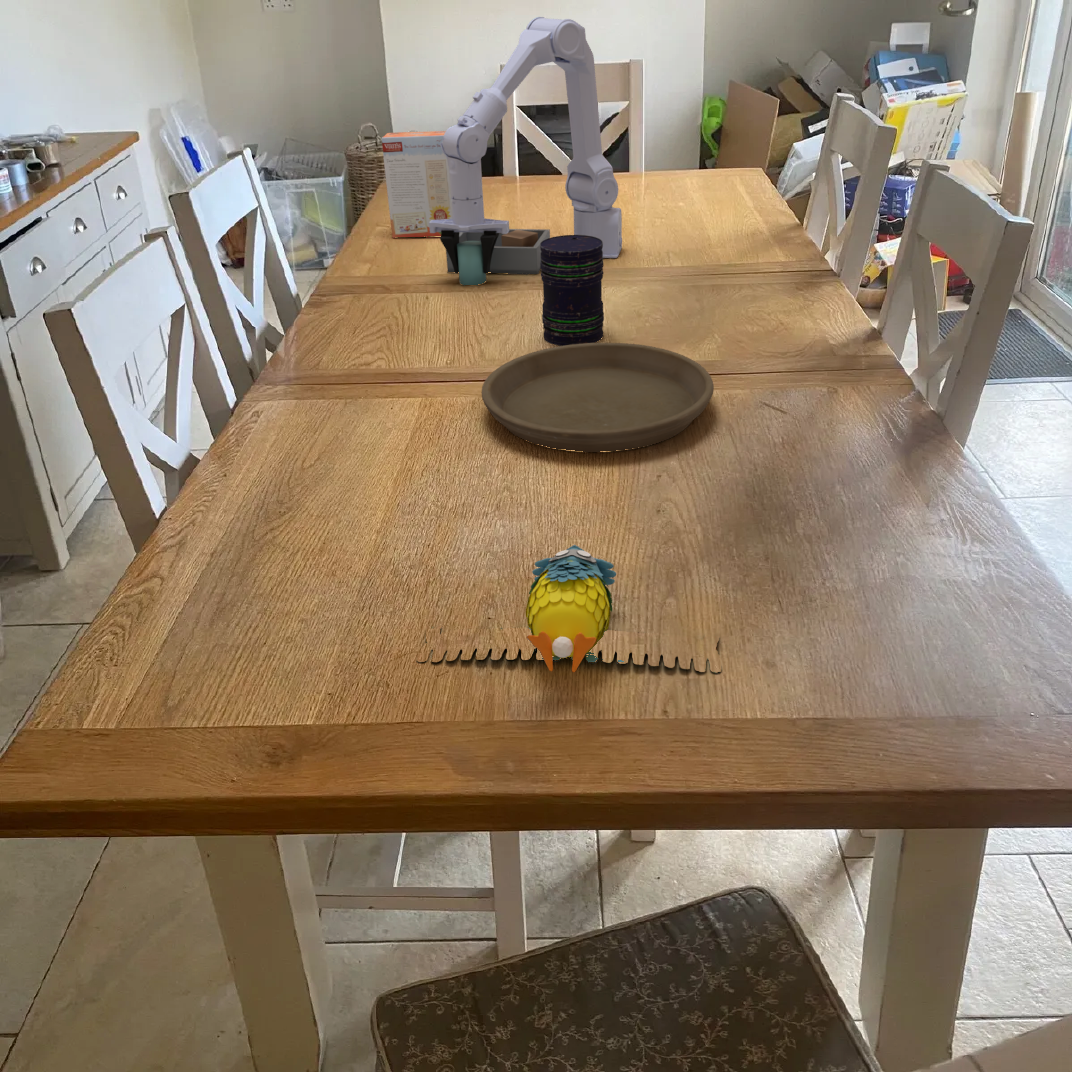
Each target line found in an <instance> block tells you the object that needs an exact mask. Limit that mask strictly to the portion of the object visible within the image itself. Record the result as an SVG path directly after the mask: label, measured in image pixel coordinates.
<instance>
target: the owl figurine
mask: <svg viewBox="0 0 1072 1072" xmlns="http://www.w3.org/2000/svg"><path fill="white" fill-rule="evenodd" d="M534 566H535V567H536V568H534V569H533V570H532V571H531V573H532V574H533V575H534V576H535V577H534V578H533V579H534V581H533V582H532V584H531V586H530V590H529V592H528V595H529V596H528V598H527V602H526V608H525V617H526V618H527V619H526V621H527V627H529V629H530V630H531V633H532V635H528V636H527V639H528V640H529V641H530V642H531V643H532V644H533V646H534V647H536V648H537V649H538V650H539V651H540V653H541V655H542V657H543V658H542V659H544V662H545V664H546V666H547V668H548V671H549V672H553V670H554V665H553V664H554V661H553V660H559V659H560V658H562V659H564V658H566V659H568V658H567V657H569V658H570V657H571V658H570V660H571V659H572V660H573V661H572V660H571V661H572V667H571V671H572V673H575V672H576V671H577V670H578V667H579V666H580V664H581V663H582V661H583V659H584V658H585V661H586V660H587V661H588V662H587V661H586V662H587V663H589V662H595V661H596V660H597V659H598V660H599V658H597V657H596V656H594V655H590V654H594V653H591V652H589V651H590V650H591V649H592V648H593V647H594V646H595V645H596V644H597V642H598V641H599V640H600V639H601V638H602V637H603V635H604V632H605V631H607V629H609V626H610V619H611V613H612V612H613V605H612V603H613V598H612V593H611V591H610V589H609V588H608V587H609V586H611V585H612V584H614V583H615V582H616V580H615V579H614V578H615V577H616V575H617V572H616V571H614V570H612V569H613V568H614V567H615V566H614V564H613V563H612V562H610V561H607V560H604V559H601V558H595V557H594V556H592V555H591V553H590V552H588V551H585V550H584V549H582V548H581V547H580V546H578V545H576V544H573V545H571V546H569V547H568V548H567V549H565V550H561V551H558V552H557V553H555V556H552V557H547V558H543V559H540V560H538V561H536V562H535V563H534ZM586 654H589V655H586ZM552 656H554V657H552ZM586 656H588V657H586ZM595 657H596V658H595ZM602 660H603V659H602ZM559 661H560V660H559ZM618 662H624V661H622V660H618ZM595 663H596V662H595Z"/></svg>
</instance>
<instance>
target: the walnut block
mask: <svg viewBox="0 0 1072 1072" xmlns="http://www.w3.org/2000/svg"><path fill="white" fill-rule="evenodd" d="M501 239H502V247H534V245H535V244H536V242H537V241H538V233H536V232H529V231H523V230H515V231H512V232H510V233H507V234H504V235H501Z"/></svg>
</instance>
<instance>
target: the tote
mask: <svg viewBox="0 0 1072 1072" xmlns="http://www.w3.org/2000/svg"><path fill="white" fill-rule="evenodd" d="M515 230H523V231H529V232H536V233H538V241H537V242H536V244H535V245H534V247H502V239H501V235H504V234H502V233H499V236H498V238H497V241H496V244H495V246H494V250H493V253H492V258H491V264H490V271H489V272H491V273H508V274H507V275H528V274H538V275H539V273H540V272H541V270H540V269H541V268H540V260H541V250H540V243H541V242H542V241H543V240H545V239H548V238H551V230H550V229H549V228H547V229H544V228H542V229H538V228H536V229H533V228H509V232H508V233H510V232H512V231H515ZM483 234H484V233H474V232H459V243H460V242H464V241H481V240H480V237H481V236H482V235H483ZM445 255H446V256H445V257H446V267H447V273H448V272H454V268H453V265H452V262H451V259H450V257H449V254H448V252H447V250H446V249H445ZM539 271H540V272H539Z"/></svg>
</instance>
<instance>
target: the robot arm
mask: <svg viewBox="0 0 1072 1072" xmlns="http://www.w3.org/2000/svg"><path fill="white" fill-rule="evenodd" d="M586 38H587V37H586V28H585V27H583V25H581V24H579V23H578V22H577V21H576V20H574V19H572V18H564V19H562V18H551V17H550V18H547V17H543V16H537V17H534V18H532V19H531V20H530V21H529V22H528V23H527V25H526V28H525V29H523V31H521V33H520V35H519V38H518V44H517V45H516V47H515V49H514V50H513V52H512V54H511V55H510V57H509V59H508V60H507V61H506V63H505V65H504V66H503V68H502V70H501V71H500V73H499V74H498V76H497V77H496V79H495V81H494V82H493V84H492V85H491V87H489V88H482V89H481V90H480V91H475V93H474V94H473V96H472V99H473V101H472V102H471V103H470V105H469V106H468V108H467V109H466V110H465V112H464V113H463V114H462V115H460V116H459V117H458V119H457V124H453V126H452V125H451V126H450V127H448V128H447V129H446V130H445V131H446V132H445V134H444V137H443V142H442V143H440V146H441V150H442V152H443V153H444V155H445V156H446V157H447V160H448V166H449V175H450V189H451V201H452V214H453V219H443V220H431V221H430V222H429V228H430V233H436V232H441V237H439V240H440V242H441V243H442V246H443V247H444V249H445V251H446V250H447V252H448V254H449V257H450V259H451V262H452V265H453V268H454V272H455V273H454V274H459V273H458V272H459V268H458V254H457V244H458V243H459V233H460V232H474V233H484V234H483V235H482V236H481V237H480V240H481V245H482V252H483V270H484V273H488V272H489V271H490V264H491V258H492V253H493V250H494V246H495V244H496V241H497V238H498V236H499V233H502V234H507V233H508V232H509V229H510V221H509V220H502V219H492V218H485V209H484V206H485V205H484V193H483V174H482V160H481V159H482V157H484V156H485V155H486V153H487V149H488V140H489V139H490V136H491V134H493V131H494V130H495V129H496V128H497V127H498V124H499V123H500V122H501V121H502V119H503V118H504V116H505V115H506V114H507V112H508V104H507V103H508V100H509V98H510V97H511V96H512V95H513V94H514V92H515V91H516V90H517V89H518V87H519V86H520V85H522V84H521V83H522V82H523V81H524V80H525V78H527V76H528V75H529V74H530V72H531V71H532V70H533V69H534V68H535V67H537V66H539V65H544V64H549V63H554V64H555V65H557V66H558V67H559V68H560V69H562V70H563V71H564V75H565V85H566V96H567V106H568V113H569V114H568V116H569V124H570V125H569V126H570V134H571V135H570V136H571V145H572V154H573V155H572V156H573V158H572V159H571V160H570V161H569V163H568V164H567V166H566V167H567V169H566V170H567V177H566V181H565V187H564V188H565V193H566V195H567V197H568V199H569V200H570V201H571V206H572V207H573V235H587V236H593V237H597V238H599V239H601V240H602V242H603V248H602V251H603V259H605V258H606V259H607V258H608V259H611V258H612V259H616V258H618V257H619V254H620V253H621V250H622V248H623V237H622V233H623V232H622V231H623V230H622V229H623V226H622V223H623V222H622V221H623V218H622V214H623V213H622V208H619V207H613V205H614V204H615V202H616V200H617V199H618V195H619V184H618V182H617V180H616V177H615V176H614V169H613V166H612V165H611V163H610V162H609V161H608V160H607V158H605V156H604V155H603V149H602V136H601V126H600V115H599V114H600V113H599V103H598V102H599V101H598V90H597V79H596V77H597V76H596V68H595V67H596V66H595V59H594V57H595V56H594V52H593V51H592V49H591V47H590V45H589V43H588V41H587V39H586Z"/></svg>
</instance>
